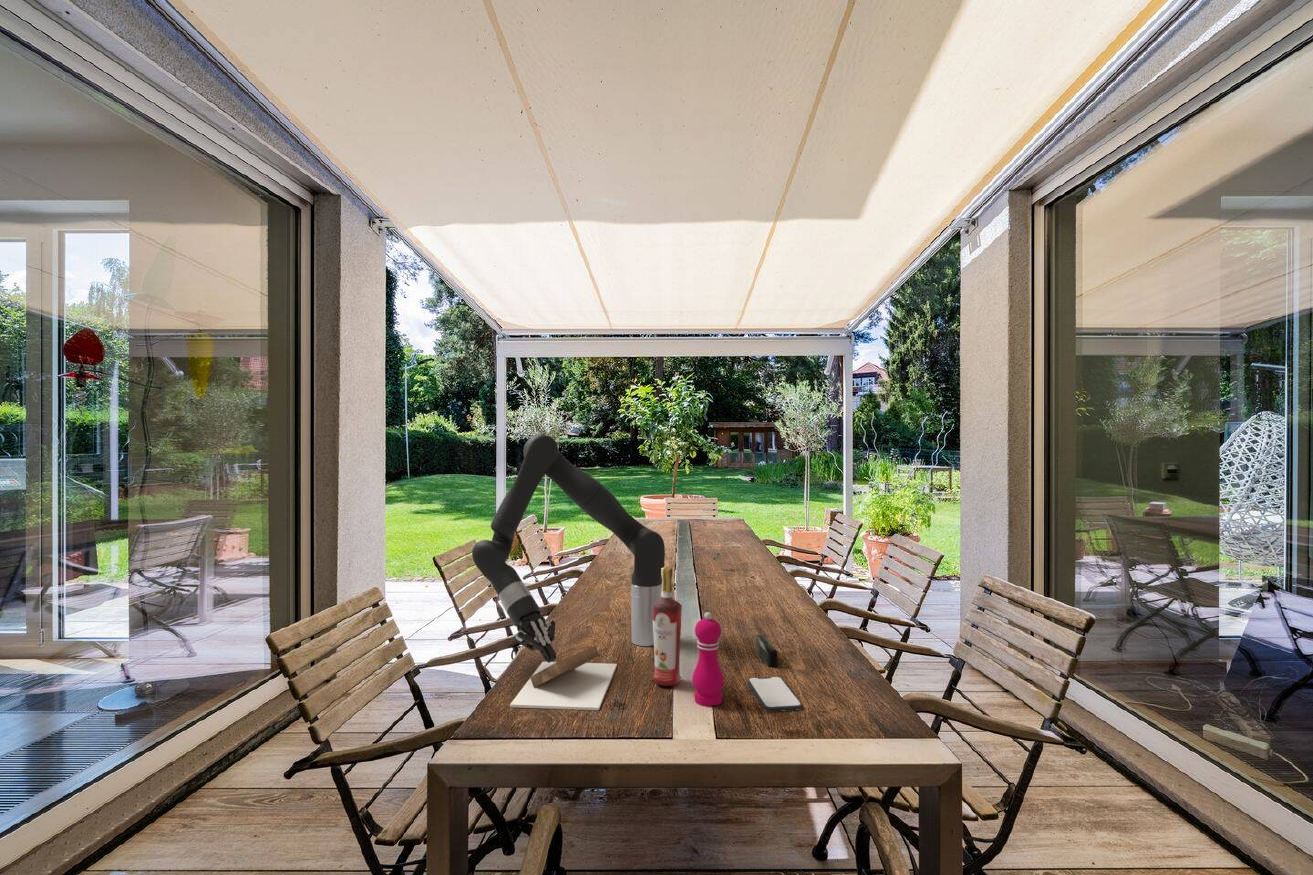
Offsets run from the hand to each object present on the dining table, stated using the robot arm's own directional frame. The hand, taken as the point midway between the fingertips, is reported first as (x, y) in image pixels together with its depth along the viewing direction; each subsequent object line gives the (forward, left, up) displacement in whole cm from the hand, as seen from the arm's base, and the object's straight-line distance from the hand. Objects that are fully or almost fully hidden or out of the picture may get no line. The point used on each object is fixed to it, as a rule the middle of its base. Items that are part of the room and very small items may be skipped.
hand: (552, 660), depth 144 cm
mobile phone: (-54, -20, -5) cm, 58 cm away
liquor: (-29, 0, -5) cm, 29 cm away
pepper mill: (-39, +9, -5) cm, 40 cm away
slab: (0, 0, -3) cm, 3 cm away
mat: (-5, +3, -5) cm, 7 cm away
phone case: (-54, +5, -5) cm, 54 cm away
